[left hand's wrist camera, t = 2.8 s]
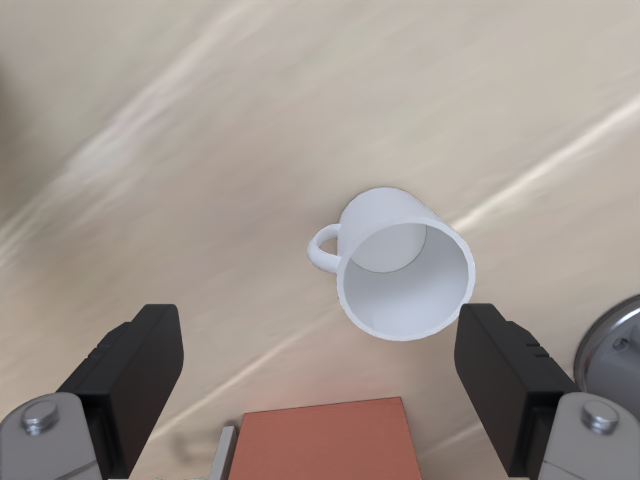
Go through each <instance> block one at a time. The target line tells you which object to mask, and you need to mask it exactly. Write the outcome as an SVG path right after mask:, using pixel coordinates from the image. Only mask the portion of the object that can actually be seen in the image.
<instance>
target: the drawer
mask: <svg viewBox="0 0 640 480" xmlns="http://www.w3.org/2000/svg"><path fill="white" fill-rule="evenodd" d="M237 441H238V438H237V435H236V431H235V427H234V426H227V427H223V430H222V433H221V437H220V440H219V443H218V447H217V450H216V454H215V457H214V460H213V464H212V467H211V471H210V474H209V477H204V478H194V479H184V480H228V479H229V474H230V470H231V466H232V462H233V458H234V454H235V450H236V445H237ZM154 480H163V479H162V478H155V479H154Z"/></svg>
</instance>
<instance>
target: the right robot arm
mask: <svg viewBox="0 0 640 480" xmlns="http://www.w3.org/2000/svg"><path fill="white" fill-rule="evenodd" d="M575 380H576V383H577V386H578V388H579V389H580V390H581V391H582V392H583V393H590V394H594V395H597V396H601V397H603V398H606V399H608V400H610V401H612V402H614V403H616V404H618V405H620V406H621V407H623V408H624V409H626V410H627V411H628V412H630V413H631V414H632V415H633V416H634V417H635V418H636V419H637V420H638V422H639V423H640V295H639V296H636V297H634V298H632V299H629V300H627V301H625V302H624V303H622V304H620V305H618V306H617V307H615V308H614V309H612V310H611V311H610V312H608V313H607V314H606V315H604V316H603V317H602V318H601V319H600V320H599V321H598V322H597V323H596V324H595V325H594V326H593V327H592V328H591V330H590V331H589V332H588V334H587V335H586V337H585V338H584V340H583V342H582V343H581V346H580V348H579V350H578V353H577V356H576V360H575Z"/></svg>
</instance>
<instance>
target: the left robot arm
mask: <svg viewBox="0 0 640 480" xmlns="http://www.w3.org/2000/svg"><path fill="white" fill-rule="evenodd" d="M183 360H184V351H183V343H182V336H181V329H180V322H179V315H178V310H177V307H176V306H175V305H174V304H146V305H145V306H144V307H143V308H142V309H141V310H140V312H139V313H138V314H137V315H136V316H135V318H134V319H133V320H132V321H131V322H124V323H123V324H121V325H120V326H118V327H116V328H115V329H113V330H112V331H110V332H108V334H107V335H106V336H105V337H104V338H103V339H102V340H101V341H100V343H99V344H98V345H97V348H94V349H93V350H92V352H91V353H90V354H89V355H88V358H85V359H84V361H83V362H82V363H81V364H80V365H79V366H78V367H77V368H76V370H75V371H74V372H73V373H72V374H71V375H70V376H69V377H68V379H67V380H66V381H65V382H64V383H63V384H62V385H61V386H60V388H59V389H58V390H57V391H56V392H55V393H50V394H46V395H43V396H39V397H37V398H34V399H32V400H30V401H28V402H26V403H24V404H22V405H20V406H19V407H17V408H16V409H14V410H13V411H12V412H10V413H9V414H8V415H7V416H6V417H5V418H4V419H3V420H2V422H1V423H0V480H108V479H128V478H129V476H130V474H131V472H132V470H133V468H134V466H135V464H136V462H137V460H138V458H139V456H140V454H141V452H142V450H143V448H144V446H145V444H146V442H147V440H148V438H149V436H150V434H151V432H152V430H153V428H154V426H155V424H156V422H157V420H158V418H159V416H160V414H161V412H162V410H163V408H164V406H165V404H166V402H167V400H168V398H169V396H170V394H171V392H172V390H173V388H174V386H175V384H176V382H177V380H178V378H179V376H180V374H181V371H182V367H183ZM454 360H455V367H456V370H457V373H458V375H459V377H460V379H461V381H462V384H463V386H464V388H465V390H466V392H467V394H468V396H469V398H470V400H471V402H472V404H473V406H474V408H475V410H476V412H477V414H478V416H479V418H480V420H481V422H482V424H483V426H484V428H485V430H486V432H487V434H488V436H489V438H490V440H491V442H492V444H493V446H494V448H495V450H496V452H497V455H498V457H499V459H500V461H501V463H502V465H503V467H504V469H505V471H506V473H507V475H508V477H529V479H530V480H640V423H639V422H638V420H637V419H636V418H635V417H634V416H633V415H632V414H631V413H630V412H628V411H627V410H626V409H624V408H623V407H621V406H620V405H618V404H616V403H614V402H612V401H610V400H608V399H606V398H603V397H601V396H597V395H594V394H590V393H583V392H582V391H581V390H580V389H579V388H578V387H577V386H576V385H575V383H574V382H573V381H572V380H571V379H570V378H569V377H568V375H567V374H566V373H565V372H564V371H563V370H562V369H561V367H560V366H559V365H558V364H557V363H556V362H555V361H554V360H553V358H552V357H549V354H548V353H547V352H546V350H545V349H544V348H543V347H540V344H539V343H538V341H537V340H536V339H535V338H534V337H533V336H532V335H531V333H530V332H529V331H527V330H525V329H524V328H522V327H521V326H519V325H517V324H516V323H514V322H513V321H506V320H505V319H504V318H503V316H502V315H501V314H500V313H499V311H498V310H497V309H496V308H495V307H494V305H492V304H490V303H465V304H463V305H462V306H461V309H460V313H459V321H458V328H457V335H456V342H455V350H454Z"/></svg>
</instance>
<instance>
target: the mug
mask: <svg viewBox="0 0 640 480" xmlns="http://www.w3.org/2000/svg"><path fill="white" fill-rule="evenodd" d="M333 238H337V256H336V255H332V254H329V253H326V252H324V251H322V250H321V249H319V248H320V246H321V245H322V244H323V243H324V242H325V241H327V240H329V239H333ZM307 257H308V259H309V260H310V262H311V263H312V264H313V266H315V267H317V268H319V269H320V270H323V271H327V272H330V273H336V286H337V291H338V296H339V301H340V303H341V305H342V307H343V309H344V311H345V313H346V315H347V316H348V317H349V318H350V319H351V320H352V321H353V322H354V323H355V324H356V325H357V326H358V327H359V328H360V329H362V330H364V331H366V332H367V333H369V334H371V335H372V336H376V337H379V338H382V339H386V340H394V341H409V340H415V339H421V338H424V337H427V336H429V335H432V334H434V333H437V332H439V331H440V330H442V329H443V328H445V327H446V326H448V325H449V324H451V323H452V322H453V321H454V320H455V319H456V318H457V317H458V316H459V313H460V309H461V306H462V305H463V304H465V303H468V301H469V299H470V297H471V296H472V292H473V288H474V283H475V279H476V277H475V262H474V259H473V257H472V254H471V252H470V249H469V247H468V245H467V244H466V243H465V241H464V240H463V239H462V238H461V236H460V235H459V234H458V233H457V232H456V231H455V230H454V229H453V228H451V227H450V226H449V225H448V224H447V223H445V222H444V221H443V220H442V219H440V218H439V217H438V216H437V215H436V214H434V213H433V212H432V211H431V210H430V209H428V208H427V207H426V206H425V205H423V204H422V203H421V202H420V201H419V200H417V199H416V198H415V197H414V196H412V195H411V194H409V193H408V192H406V191H404V190H401V189H398V188H395V187H378V188H373V189H369V190H367V191H365V192H363V193H361V194H359V195H357V196H356V197H355V198H354V199H353V200H351V201H350V202H349V203H348V205H347V206H346V208H345V209H344V210H343V212H342V214H341V217H340V219H339V222H338V224H332V225H329V226H327V227H324V228H323V229H322V230H320V231H319V232H318V233H316V234H315V235H314V237H313V238H312V239H311V241H310V243H309V245H308V250H307Z"/></svg>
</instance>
